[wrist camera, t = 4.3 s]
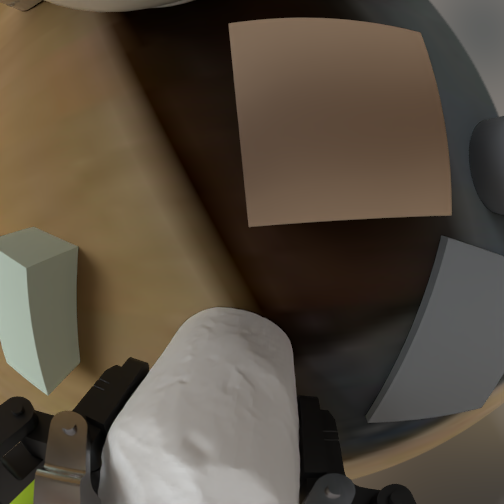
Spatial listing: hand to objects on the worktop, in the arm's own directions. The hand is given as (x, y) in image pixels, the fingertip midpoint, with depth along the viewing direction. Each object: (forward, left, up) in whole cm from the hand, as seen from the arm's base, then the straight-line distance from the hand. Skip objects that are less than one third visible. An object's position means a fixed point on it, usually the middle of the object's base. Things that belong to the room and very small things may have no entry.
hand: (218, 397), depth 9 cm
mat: (-2, +14, -3) cm, 14 cm away
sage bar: (0, -11, -3) cm, 11 cm away
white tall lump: (0, 0, -3) cm, 3 cm away
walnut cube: (-10, +2, -3) cm, 11 cm away
